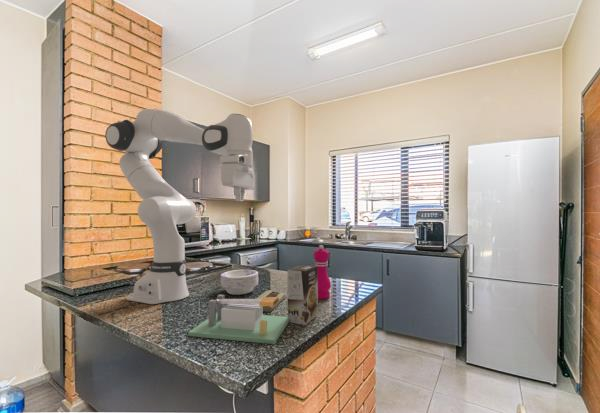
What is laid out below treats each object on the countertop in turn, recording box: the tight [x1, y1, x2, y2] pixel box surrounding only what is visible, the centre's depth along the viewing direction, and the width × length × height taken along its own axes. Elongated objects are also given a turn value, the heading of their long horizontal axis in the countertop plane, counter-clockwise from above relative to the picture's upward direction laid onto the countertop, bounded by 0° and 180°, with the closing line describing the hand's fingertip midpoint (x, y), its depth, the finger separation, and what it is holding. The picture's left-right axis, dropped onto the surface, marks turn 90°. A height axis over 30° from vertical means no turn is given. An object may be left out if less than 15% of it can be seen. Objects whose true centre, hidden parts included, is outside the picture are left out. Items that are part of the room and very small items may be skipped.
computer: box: [255, 289, 286, 313], centre depth 104 cm, size 16×8×3 cm, turn 166°
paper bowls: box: [220, 269, 259, 296], centre depth 119 cm, size 15×15×8 cm
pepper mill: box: [313, 244, 332, 300], centre depth 112 cm, size 7×7×20 cm
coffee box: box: [287, 264, 319, 326], centre depth 89 cm, size 9×6×16 cm
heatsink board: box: [187, 294, 290, 345], centre depth 82 cm, size 24×16×8 cm, turn 78°
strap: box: [215, 297, 279, 306], centre depth 82 cm, size 19×5×1 cm, turn 78°
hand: (239, 201), depth 100 cm, fingers closed
